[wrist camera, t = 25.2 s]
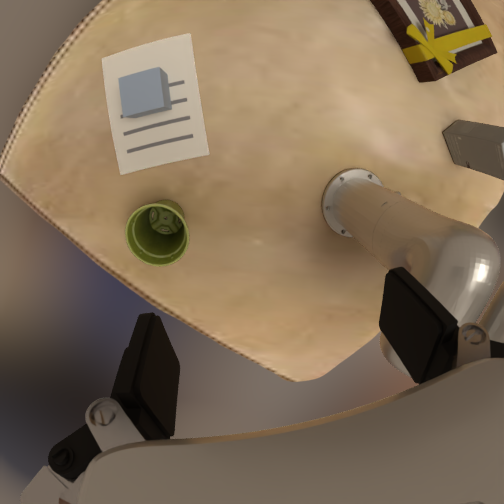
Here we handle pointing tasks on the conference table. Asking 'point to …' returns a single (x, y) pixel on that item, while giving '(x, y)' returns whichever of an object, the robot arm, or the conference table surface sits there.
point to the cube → (144, 93)
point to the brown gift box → (437, 34)
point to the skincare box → (477, 146)
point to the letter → (162, 123)
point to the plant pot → (157, 233)
